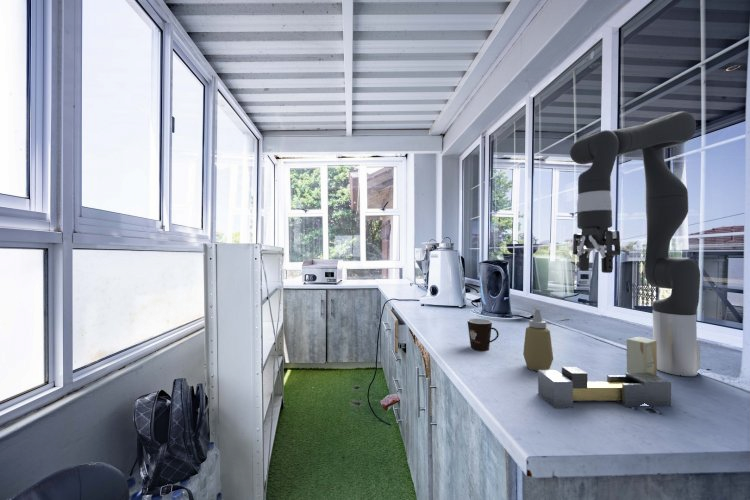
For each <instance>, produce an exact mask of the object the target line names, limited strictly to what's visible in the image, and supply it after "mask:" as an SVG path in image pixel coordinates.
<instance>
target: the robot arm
mask: <svg viewBox="0 0 750 500" xmlns="http://www.w3.org/2000/svg"><path fill="white" fill-rule="evenodd" d="M696 130H697V123H696V120H695V117H694V116H693V115H692V114H691V113H690V112H688V111H683V110H682V111H677V112H673V113H669V114H667V115H664V116H660V117H657V118H654V119H652V120H650V121H647V122H646V123H643V124H639V125H634V126H629V127H628V126H627V127H623V128H618V129H614V130H608V129H605V130H604V129H603V130H601V131H597V132H595V133H593V134H590V135H588V136H585V137H582V138H580V139H577V140H576V141H575V142H574V143H573V144H572V146H571V147H570V150H569V156H570V158H571V160H572V161H573V162H574V163H575V164H578V165H587V164H591V166H590V167H589V168H588V169H586V170H585V171H582V173H580V174H579V176H578V178H577V194H578V195H577V202H576V214H577V215H576V218H577V221H576V223H577V224H576V225H577V226H576V228H577V229H579V230H581V233H574V234H572V235H573V236H572V237H573V239H572V241H573V242H572V255H575V256H576V257H578V268H579V271H582V272H587V271H589V270H590V257H589V255H590V253H591V252H592V251H594V250H596V251H598V252H599V254H600V256H601V260H600V264H601V272H602V273H603V274H611V273H613V271H614V258H615V257H616V256H619V255H621V252H622V251H621V238H620V231H619V230H609V229H610V228H612V227H613V198H612V189H611V188H612V187H611V183H612V182H611V177H612V172H613V169H614V165H615V162H616V159H617V157H619V156H622V155H623V156H624V155H628V154H630V153H635V152H638V151H641V155H642V161H643V169H644V183H645V184H644V187H645V216H646V249H645V256H644V257H645V258H644V277H645V279H646V282H647V284H648V285H650V286H652V287H653V288H660V289H667V290H669V289H670V290H671V293H670V295H669V296H668V297H665V298H663V299H655V300H654V301H653V302H652V339H653V340H657V371H661V372H662V373H666V374H671V375H674V376H680V375H681V376H682V377H696V376H697V375H698V374H697V371H698V370H699V369H701V366H702V365H701V362H702V361H701V341H700V340H699V339H697V334H698V333H697V309H698V306H699V302H700V288H701V287H700V286H701V269H700V266H699V265H698V263H697V262H696V261H695V260H694V259H692V258H685V257H670V255H669V252H670V244H671V240H672V239H673V237H674V235H675V234H676V232H677V231H678V230H679V228H680V227H681V226H682V224H683V223H684V222H685V219H686V218H687V216H688V213H689V192H688V188H687V186H686V185H685V184H684V183H683V182H682V180H681V179H680V178H678V176H676V175H675V174H674V173H673V172H672V171H671V170H670V168H669V167H668V166H667V163H666V161H665V157H664V149H667V148H671V147H675V146H678V145H682V144H684V143H687V142H688V141H689V140H691V139H692V138H693V137H694V135H695V134H696ZM613 246H614V249H613Z"/></svg>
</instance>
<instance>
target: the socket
mask: <svg viewBox="0 0 750 500" xmlns="http://www.w3.org/2000/svg"><path fill="white" fill-rule="evenodd" d="M537 393H538V395H539V396H540V397H541V398H542V399H543V400H544V401H546V403H548V404H549V405H550V406H551V407H552V408H553V409H573V408H574V400H573V382H572V381H571V380H569V379H568V378H566V377H565V376H563V375H562V373H560V372H559V371H557V370H556V369H549V370H538V371H537Z"/></svg>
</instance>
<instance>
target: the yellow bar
mask: <svg viewBox="0 0 750 500" xmlns="http://www.w3.org/2000/svg"><path fill="white" fill-rule="evenodd" d="M561 374H562V375H563V376H565V377H566V378H568V379H569V380H571V381H572V382H573V401H616V400H622V383H625V382H607V381H588V372H586V371H584V370H582V369H581V368H579V367H577V366H561Z"/></svg>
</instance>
